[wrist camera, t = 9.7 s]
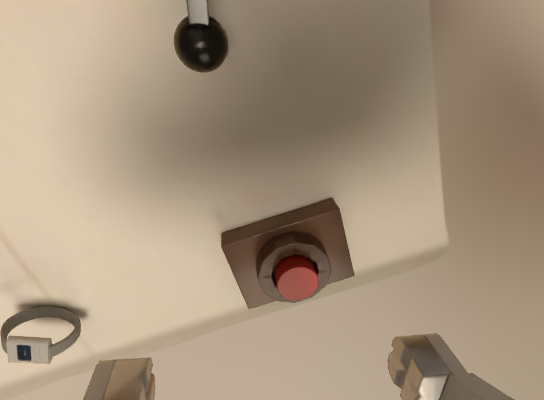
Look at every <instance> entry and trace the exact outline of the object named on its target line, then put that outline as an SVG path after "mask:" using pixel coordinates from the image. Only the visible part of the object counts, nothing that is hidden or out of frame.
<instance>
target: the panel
mask: <svg viewBox="0 0 544 400" xmlns="http://www.w3.org/2000/svg"><path fill="white" fill-rule="evenodd" d="M221 247H222V249H223V252H224V254H225V256H226V258H227V261H228V263H229V265H230V268H231V270H232V272H233V274H234V277H235V279H236V281H237V283H238V286H239V288H240V290H241V292H242V295H243V297H244V299H245V301H246V304H247V306H248V308H249V309H251V308H254V307H257V306H260V305H264V304H267V303H270V302H273V301H276V300H277V301H282V302H292V303H295V302H299V301H302V300H305V299H308V298H311V297H313V296H314V295H315V294H317V293H318V292H319V291H320V290H321V289H322V288H323V287H325V285H327V284H330V283H333V282H336V281H340V280H343V279H346V278H349V277H352V276H354V271H353V267H352V262H351V258H350V254H349V249H348V245H347V240H346V236H345V231H344V227H343V222H342V218H341V213H340V209H339V207H338V206H337V204H336V203H335V201H334V200H333V199H332V198H331V199H328V200H325V201H322V202H319V203H316V204H313V205H310V206H306V207H303V208H300V209H297V210H294V211H291V212H288V213H285V214H281V215H278V216H275V217H272V218H269V219H266V220H263V221H260V222H256V223H253V224H250V225H247V226H244V227H241V228H238V229H235V230H231V231H228V232H225V233H222V234H221ZM293 255H300V256H304V257H306V258H308V259H309V260H310V261H311V262H312V263H313V266H314V268H315V271H316V273H317V276H318V286H317V288H316V290H315V291H314V293H313V294H311V295H310V296H308V297H307V298H304V299H301V300H289V299H286V298H284V297H283V296H282V295H281V294H280V293H279V291H278V289H277V284H276V279H275V269H276V267H277V265H278V264H279V262H280V261H282V260H283V259H285V258H287V257H289V256H293Z"/></svg>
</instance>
